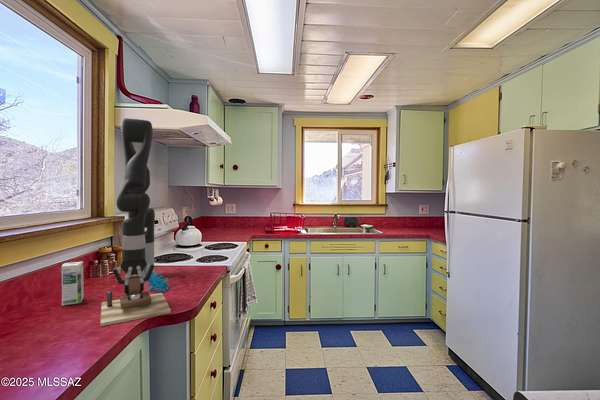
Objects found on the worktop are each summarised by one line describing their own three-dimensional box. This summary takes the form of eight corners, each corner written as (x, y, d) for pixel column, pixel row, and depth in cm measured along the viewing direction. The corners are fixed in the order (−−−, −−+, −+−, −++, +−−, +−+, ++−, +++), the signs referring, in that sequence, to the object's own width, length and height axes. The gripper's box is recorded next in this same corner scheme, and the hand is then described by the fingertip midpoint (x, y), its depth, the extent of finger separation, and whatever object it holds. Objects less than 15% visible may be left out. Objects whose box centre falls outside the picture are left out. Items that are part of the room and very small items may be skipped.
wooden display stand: (151, 303, 103) (151, 282, 103) (120, 309, 98) (120, 286, 98) (146, 292, 115) (146, 272, 115) (119, 296, 110) (119, 276, 110)
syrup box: (61, 306, 106) (61, 265, 106) (65, 300, 112) (64, 262, 111) (80, 303, 109) (80, 264, 109) (83, 298, 114) (83, 260, 114)
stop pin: (106, 305, 104) (106, 291, 104) (112, 305, 105) (112, 291, 105) (106, 307, 103) (106, 293, 103) (112, 306, 104) (112, 292, 104)
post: (130, 305, 105) (130, 294, 105) (139, 303, 107) (139, 292, 107) (130, 308, 103) (130, 296, 102) (140, 306, 104) (140, 295, 104)
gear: (156, 292, 117) (143, 272, 120) (146, 302, 118) (134, 282, 120) (175, 287, 128) (163, 269, 130) (166, 296, 128) (154, 278, 131)
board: (101, 305, 108) (101, 302, 108) (162, 295, 119) (162, 292, 118) (100, 326, 91) (100, 323, 91) (170, 312, 102) (170, 309, 102)
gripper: (153, 243, 116) (154, 287, 117) (111, 247, 109) (111, 293, 109) (156, 246, 110) (156, 293, 110) (111, 250, 102) (111, 300, 103)
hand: (134, 293), depth 110 cm, fingers closed on wooden display stand, 3 cm apart
